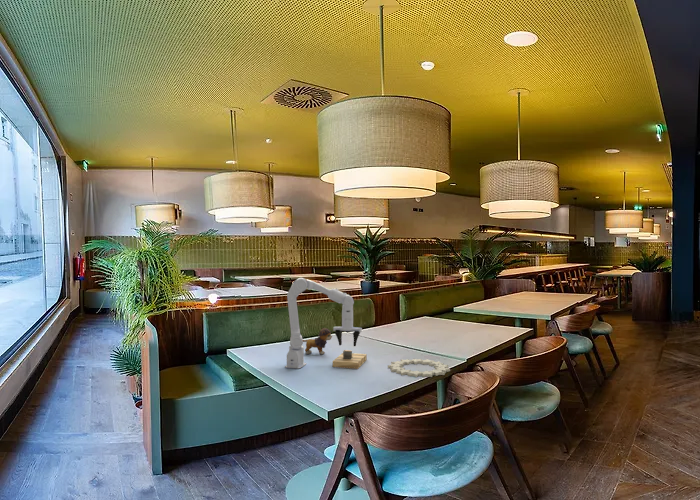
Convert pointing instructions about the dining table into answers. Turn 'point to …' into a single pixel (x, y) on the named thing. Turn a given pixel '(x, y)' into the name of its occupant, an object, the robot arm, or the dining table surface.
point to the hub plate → (350, 361)
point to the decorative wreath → (439, 370)
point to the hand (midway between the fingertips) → (347, 345)
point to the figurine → (318, 341)
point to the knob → (347, 354)
